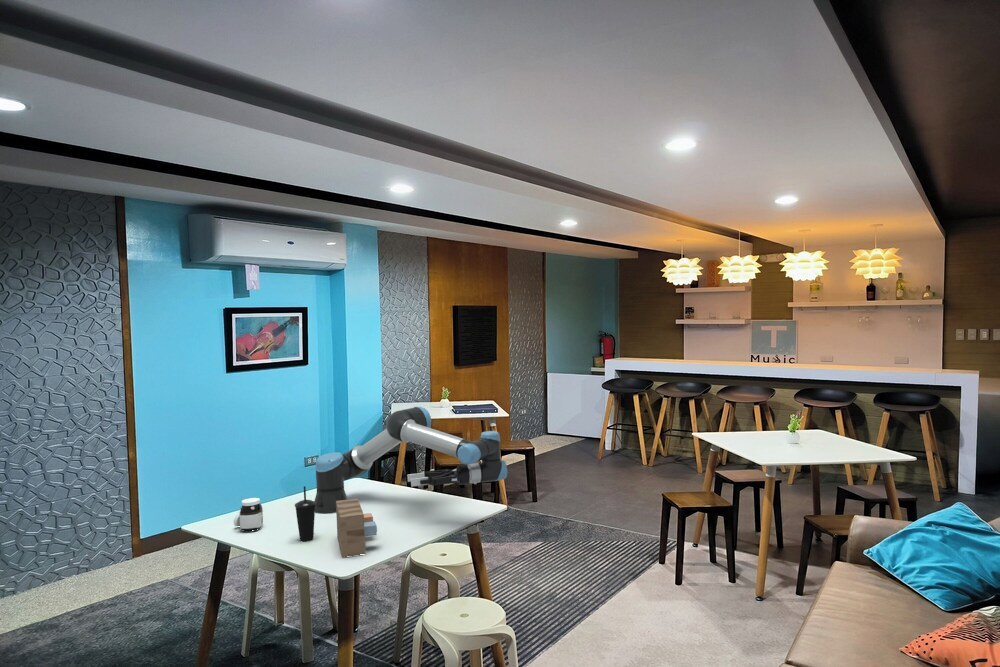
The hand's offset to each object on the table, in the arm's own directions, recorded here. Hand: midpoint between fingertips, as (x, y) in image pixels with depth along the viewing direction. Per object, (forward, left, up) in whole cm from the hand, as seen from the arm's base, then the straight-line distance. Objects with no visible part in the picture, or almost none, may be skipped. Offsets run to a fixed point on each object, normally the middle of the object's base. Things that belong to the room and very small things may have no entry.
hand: (409, 480), depth 243 cm
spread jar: (-32, -60, -20) cm, 71 cm away
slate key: (+11, -17, -15) cm, 25 cm away
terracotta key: (0, -17, -15) cm, 23 cm away
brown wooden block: (+5, -23, -20) cm, 31 cm away
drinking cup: (-8, -38, -20) cm, 44 cm away
